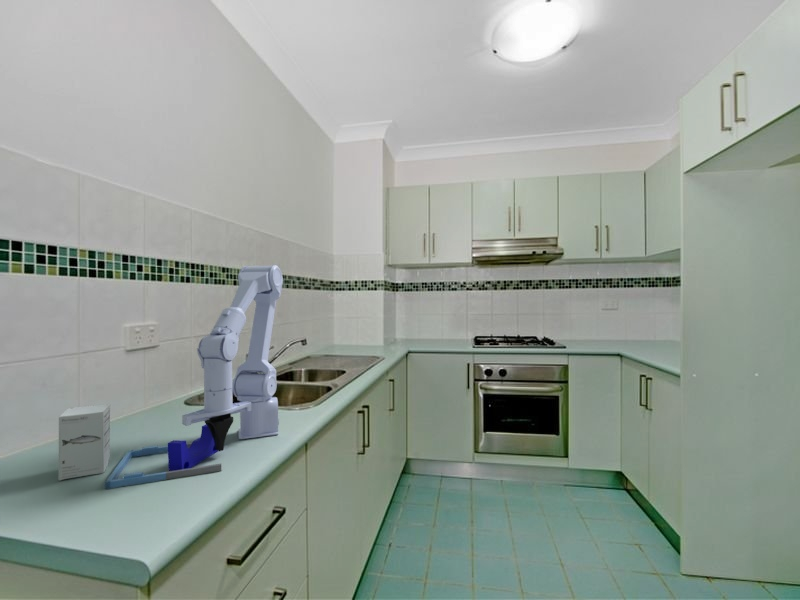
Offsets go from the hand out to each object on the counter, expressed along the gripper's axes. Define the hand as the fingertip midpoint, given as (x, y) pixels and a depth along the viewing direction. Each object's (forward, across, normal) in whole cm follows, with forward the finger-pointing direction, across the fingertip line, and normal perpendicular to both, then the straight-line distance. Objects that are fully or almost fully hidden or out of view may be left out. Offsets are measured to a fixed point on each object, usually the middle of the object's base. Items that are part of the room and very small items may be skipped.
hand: (219, 449), depth 88 cm
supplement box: (+2, +20, -15) cm, 25 cm away
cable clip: (+2, +5, -2) cm, 6 cm away
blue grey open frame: (+2, +8, -4) cm, 9 cm away
